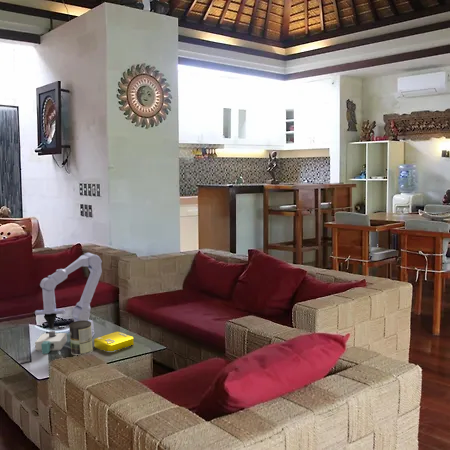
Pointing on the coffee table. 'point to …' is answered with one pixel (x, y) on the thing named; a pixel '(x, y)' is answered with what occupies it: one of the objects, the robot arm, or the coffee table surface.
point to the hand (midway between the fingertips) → (51, 328)
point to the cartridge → (46, 347)
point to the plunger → (51, 333)
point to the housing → (52, 341)
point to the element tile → (113, 341)
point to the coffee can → (80, 337)
